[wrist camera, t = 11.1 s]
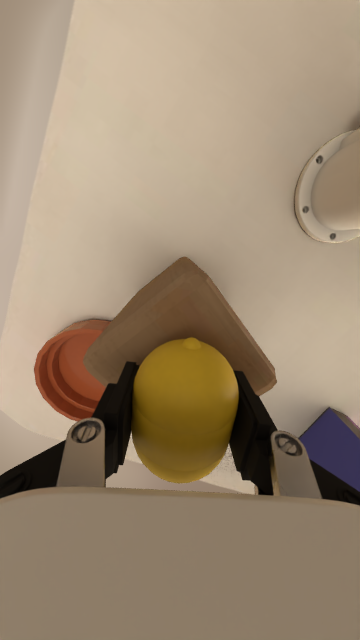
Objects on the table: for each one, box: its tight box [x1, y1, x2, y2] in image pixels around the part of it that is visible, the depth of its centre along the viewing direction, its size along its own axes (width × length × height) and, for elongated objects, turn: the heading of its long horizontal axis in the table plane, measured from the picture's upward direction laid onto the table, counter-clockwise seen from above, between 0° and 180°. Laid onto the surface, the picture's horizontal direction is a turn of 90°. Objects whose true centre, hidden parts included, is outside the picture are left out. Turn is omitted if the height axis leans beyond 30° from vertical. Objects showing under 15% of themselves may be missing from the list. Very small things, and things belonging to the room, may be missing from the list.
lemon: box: [131, 337, 239, 483], centre depth 11 cm, size 8×5×5 cm
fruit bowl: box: [34, 319, 111, 421], centre depth 33 cm, size 17×17×4 cm
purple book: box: [299, 407, 360, 492], centre depth 31 cm, size 17×5×24 cm, turn 151°
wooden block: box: [83, 257, 277, 396], centre depth 22 cm, size 10×10×20 cm
